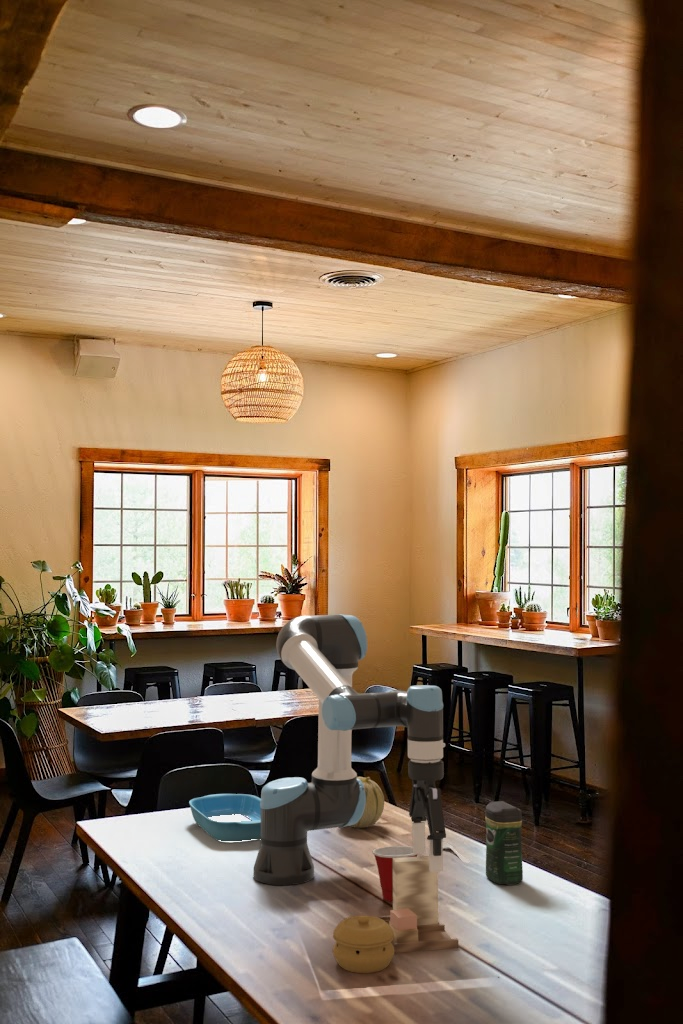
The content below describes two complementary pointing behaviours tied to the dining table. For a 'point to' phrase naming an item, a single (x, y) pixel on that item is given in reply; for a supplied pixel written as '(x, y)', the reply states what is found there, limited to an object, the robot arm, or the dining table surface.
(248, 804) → the casserole dish
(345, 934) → the pot
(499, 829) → the coffee jar
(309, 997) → the dining table surface
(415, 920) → the offcut terracotta
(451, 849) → the spoon
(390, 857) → the plastic cup
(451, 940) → the rack
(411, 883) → the birch block
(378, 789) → the cantaloupe
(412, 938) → the offcut oak
